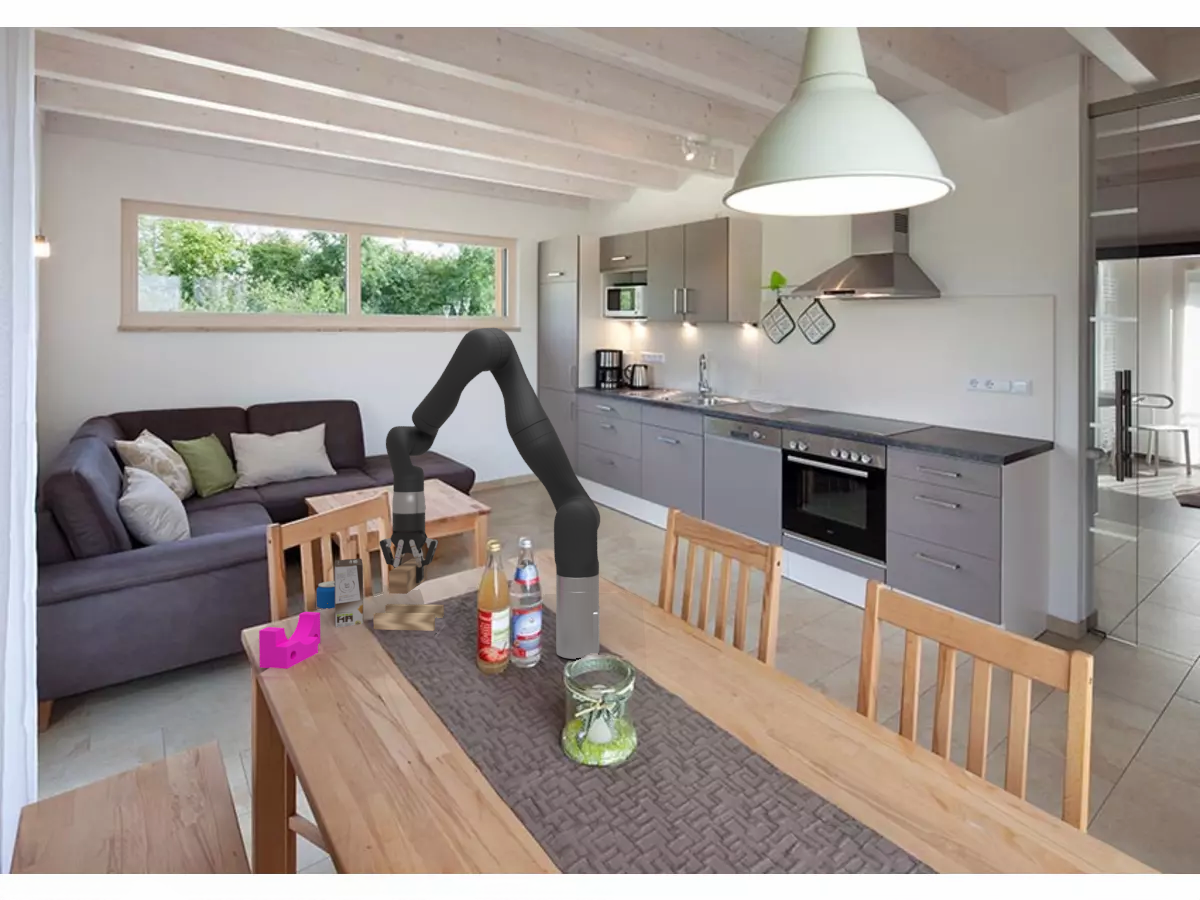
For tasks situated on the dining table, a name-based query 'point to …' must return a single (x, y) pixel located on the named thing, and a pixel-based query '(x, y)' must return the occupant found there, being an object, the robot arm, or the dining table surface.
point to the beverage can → (326, 595)
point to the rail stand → (408, 617)
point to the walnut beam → (404, 578)
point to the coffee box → (348, 592)
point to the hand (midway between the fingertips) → (409, 582)
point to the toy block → (290, 643)
